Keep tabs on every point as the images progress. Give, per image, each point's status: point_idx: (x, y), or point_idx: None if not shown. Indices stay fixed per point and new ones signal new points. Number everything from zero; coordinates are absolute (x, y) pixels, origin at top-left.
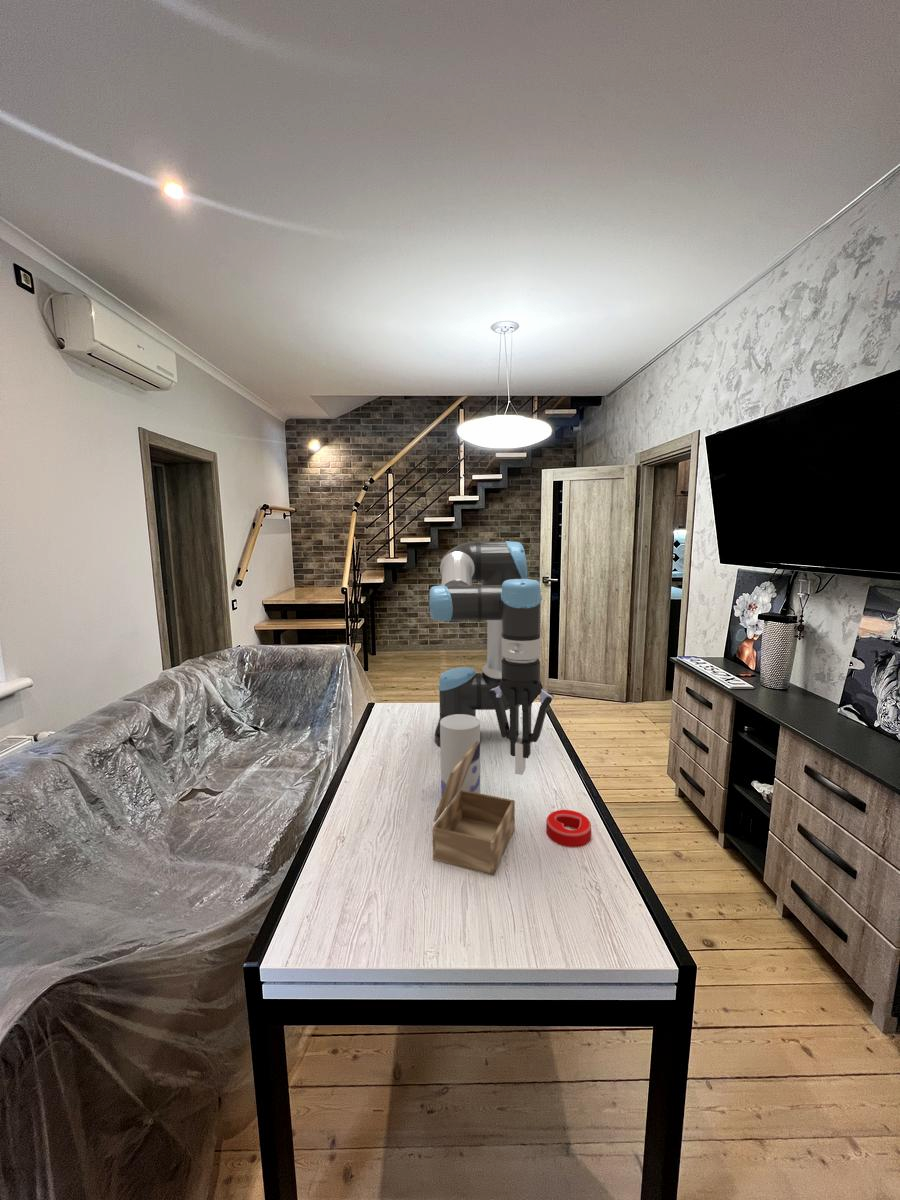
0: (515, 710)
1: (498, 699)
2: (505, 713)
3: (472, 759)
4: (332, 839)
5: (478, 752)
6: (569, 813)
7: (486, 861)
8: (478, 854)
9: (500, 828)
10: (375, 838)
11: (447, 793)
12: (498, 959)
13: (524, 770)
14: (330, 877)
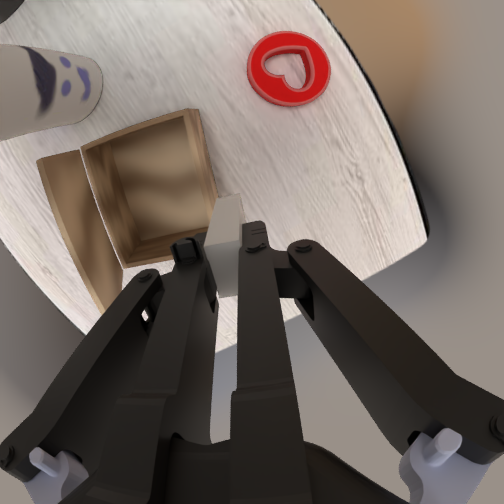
0: (208, 434)
1: (92, 467)
2: (110, 351)
3: (49, 95)
4: (43, 276)
5: (46, 71)
6: (282, 43)
7: None
8: None
9: (212, 210)
10: (64, 250)
11: (114, 283)
12: (287, 314)
13: (242, 207)
14: (91, 315)
